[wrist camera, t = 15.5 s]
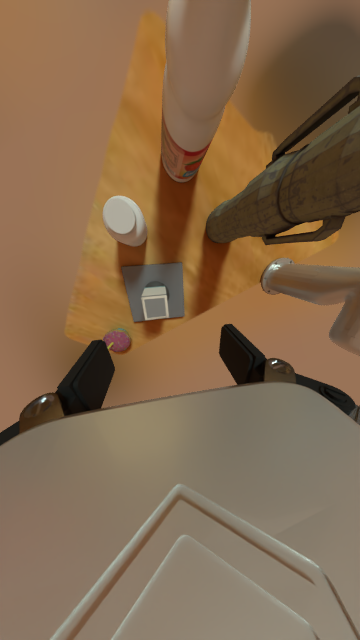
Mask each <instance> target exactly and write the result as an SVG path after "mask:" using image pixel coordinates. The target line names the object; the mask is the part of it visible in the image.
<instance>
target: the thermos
mask: <svg viewBox="0 0 360 640" xmlns="http://www.w3.org/2000/svg"><path fill="white" fill-rule="evenodd" d="M357 95H358V99H357V101H356V102H355V103H353V104H352V105H351V106H350V107H349V112H348V115H346V116H345V117H344V118H342V119H341V120H340V121H338V122H337V123H336V124H334V125H333V126H331V127H330V128H329V129H328V130H326V131H325V132H323V133H322V134H321V135H319V136H318V137H317V138H316V139H315V140H313V141H312V142H311V143H310V144H308V145H306V146H304V147H303V148H302V149H300V150H298V151H294V152H291V153H289V154H285V152H287V151H288V150H290V149H291V148H292V147H293V146H295V145H296V144H297V143H298V142H300V141H301V140H302V139H303V138H305V137H306V136H307V135H308V134H310V133H311V132H312V131H313V130H315V129H316V128H317V127H319V126H320V125H321V124H322V123H323V122H325V121H326V120H327V119H329V118H330V117H331V116H332V115H333V114H335V113H336V112H337V111H339V110H340V109H341V108H342V107H344V106H345V105H346V104H347V103H349V102H350V101H351V100H352V99H353V98H355V97H356V96H357ZM358 211H360V76H356V77H354V78H353V79H352V80H351V81H350V82H348V83H347V84H346V85H345V86H344V87H343V88H342V89H341V90H339V92H337V93H336V94H335V95H334V96H333V97H332V98H331V99H329V100H328V101H327V102H326V103H325V104H324V105H323V106H322V107H321V108H320V109H319V110H317V111H316V112H315V113H314V114H313V115H312V116H311V117H310V118H308V119H307V120H306V121H305V122H304V123H303V124H302V125H301V126H300V127H298V128H297V130H295V131H294V132H293V133H292V134H291V135H290V136H288V137H287V138H286V139H285V140H284V141H283V142H282V143H281V144H280V145H279V147H278V148H277V149H276V150H275V151H274V152H273V155H272V161H271V162H270V163H269V164H268V165H267V166H266V169H265V170H264V171H263V172H262V173H260V174H259V175H258V176H256V177H255V178H254V179H253V180H252V181H250V182H249V184H248V185H247V187H246V188H245V189H244V190H243V191H242V192H240V193H239V194H238V195H236V196H235V197H234V198H232V199H231V200H227V201H225V202H223V203H222V204H220V205H219V206H218V207H217V208H216V209H214V211H213V212H211V214H210V215H209V217H208V219H207V222H206V232H207V235H208V237H209V239H210V240H211V241H213V242H215V243H227V242H231V241H233V240H235V239H237V238H241V237H246V236H252V237H262V240H263V241H264V243H265V245H271V244H282V243H294V242H312V241H321V240H324V239H326V238H327V237H329V236H330V235H332V234H333V233H335V232H336V231H338V230H339V229H341V227H342V224H343V222H344V219H345V217H346V216H348V215H351V214H352V213H356V212H358ZM319 220H323V226H322V227H320V228H319V229H318V230H316V231H314V232H307V233H300V234H293V235H286V236H279V237H275V235H276V234H279V233H282V232H284V231H287V230H289V229H291V228H293V227H294V226H296V225H299V224H302V223H305V222H314V221H319Z"/></svg>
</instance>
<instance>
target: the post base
mask: <svg viewBox="0 0 360 640" xmlns="http://www.w3.org/2000/svg"><path fill="white" fill-rule="evenodd" d="M121 269H122V273H123V277H124V282H125V286H126V290H127V294H128V299H129V303H130V307H131V311H132V316H133V320H134V322H137V321H146V320H145V316H144V310H143V305H142V300H141V296H142V294H143V291H144V288H147V287H159V286H165V289H166V294H167V303H168V312H169V318H173V317H182V316H184V294H183V271H182V263H167V264H152V265H138V266H123V267H121ZM162 319H164V318H162ZM153 320H155V319H153Z"/></svg>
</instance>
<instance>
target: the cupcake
mask: <svg viewBox="0 0 360 640" xmlns="http://www.w3.org/2000/svg"><path fill="white" fill-rule="evenodd" d="M103 340H104V341H105V343H106V345H107V348H108V349H110V350H112V351H115V352H116V351H117V352H120V351H123V350H125V349H127V348H128V347H129V345H130V342H131V338H130V336H129V335H128V334H127V332H126V331H125V330H124V329H120V328H119V329H113V330H111V331H109V332H107V334H106V335H105V336H104V338H103Z"/></svg>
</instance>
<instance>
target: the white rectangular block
mask: <svg viewBox="0 0 360 640" xmlns="http://www.w3.org/2000/svg"><path fill="white" fill-rule="evenodd" d="M141 300H142V305H143V310H144V316H145V320H153V319H162V318H169V312H168V303H167V294H166V289H165V286H159V287H147V288H144V291H143V294H142V296H141Z"/></svg>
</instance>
